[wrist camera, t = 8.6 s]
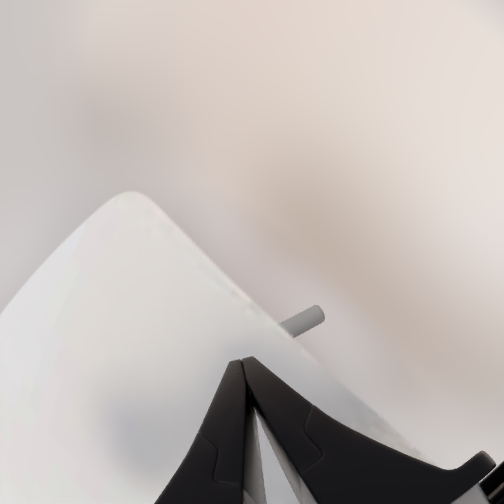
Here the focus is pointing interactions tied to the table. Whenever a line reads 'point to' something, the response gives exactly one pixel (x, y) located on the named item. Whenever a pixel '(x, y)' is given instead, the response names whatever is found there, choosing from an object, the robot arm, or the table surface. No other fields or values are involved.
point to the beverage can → (303, 321)
